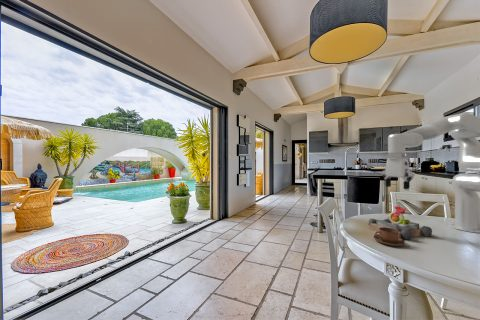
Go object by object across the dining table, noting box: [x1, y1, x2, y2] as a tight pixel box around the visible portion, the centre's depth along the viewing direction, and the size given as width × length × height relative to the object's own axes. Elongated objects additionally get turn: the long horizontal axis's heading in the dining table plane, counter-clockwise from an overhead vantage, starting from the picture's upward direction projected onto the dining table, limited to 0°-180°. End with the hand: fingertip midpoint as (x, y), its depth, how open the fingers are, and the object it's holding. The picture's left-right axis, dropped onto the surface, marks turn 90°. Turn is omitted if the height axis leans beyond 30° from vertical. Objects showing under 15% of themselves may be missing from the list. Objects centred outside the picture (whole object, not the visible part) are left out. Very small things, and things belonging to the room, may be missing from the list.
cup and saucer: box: [373, 227, 406, 247], centre depth 95 cm, size 12×12×6 cm
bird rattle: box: [388, 205, 411, 225], centre depth 110 cm, size 6×11×9 cm
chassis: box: [367, 216, 433, 241], centre depth 110 cm, size 22×20×6 cm
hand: (396, 187), depth 110 cm, fingers open, 9 cm apart
